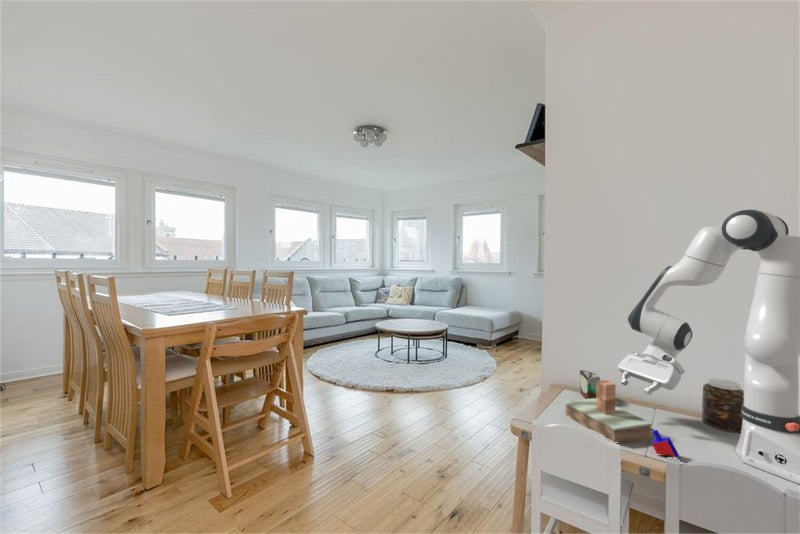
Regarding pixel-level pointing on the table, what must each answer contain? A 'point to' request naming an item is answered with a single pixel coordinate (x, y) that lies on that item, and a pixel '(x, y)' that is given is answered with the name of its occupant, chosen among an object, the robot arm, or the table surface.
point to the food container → (588, 384)
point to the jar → (722, 405)
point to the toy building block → (663, 445)
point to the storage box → (609, 421)
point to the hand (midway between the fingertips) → (634, 388)
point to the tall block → (605, 397)
